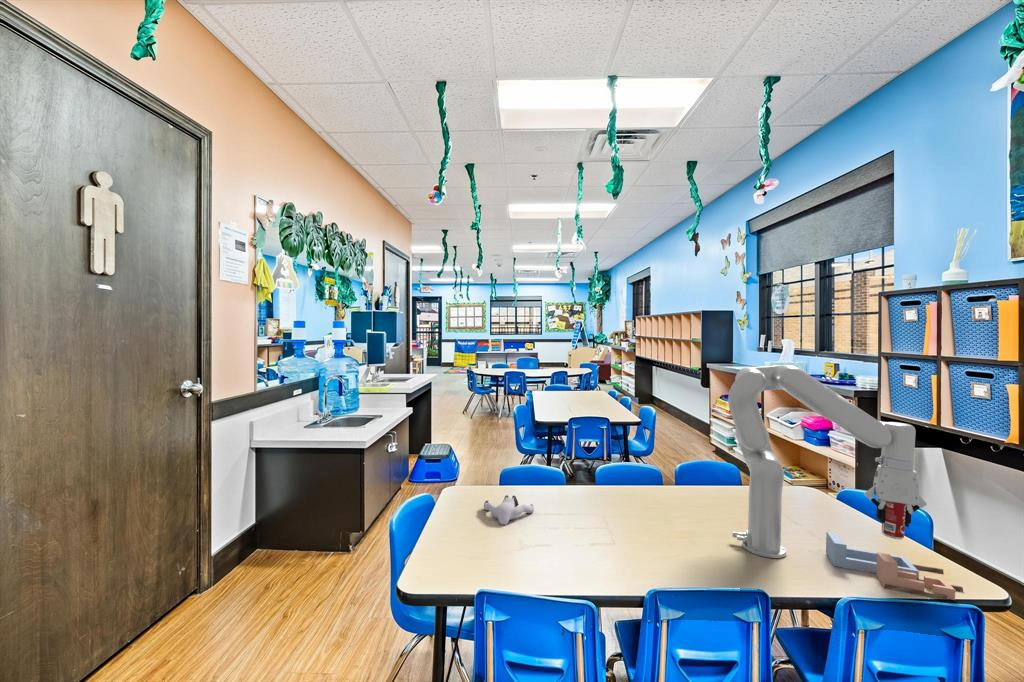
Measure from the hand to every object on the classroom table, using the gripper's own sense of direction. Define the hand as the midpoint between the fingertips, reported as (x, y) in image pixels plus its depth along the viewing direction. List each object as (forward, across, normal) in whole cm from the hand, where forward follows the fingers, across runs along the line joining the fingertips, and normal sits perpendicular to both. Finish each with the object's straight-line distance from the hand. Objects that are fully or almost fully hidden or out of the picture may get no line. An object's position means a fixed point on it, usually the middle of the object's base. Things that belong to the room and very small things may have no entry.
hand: (893, 522), depth 136 cm
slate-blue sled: (+15, -5, 0) cm, 15 cm away
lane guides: (+15, +5, -4) cm, 16 cm away
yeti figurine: (+19, -122, -12) cm, 124 cm away
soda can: (+4, 0, 0) cm, 4 cm away
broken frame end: (+14, +8, -10) cm, 19 cm away
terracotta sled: (+14, -1, -9) cm, 17 cm away
